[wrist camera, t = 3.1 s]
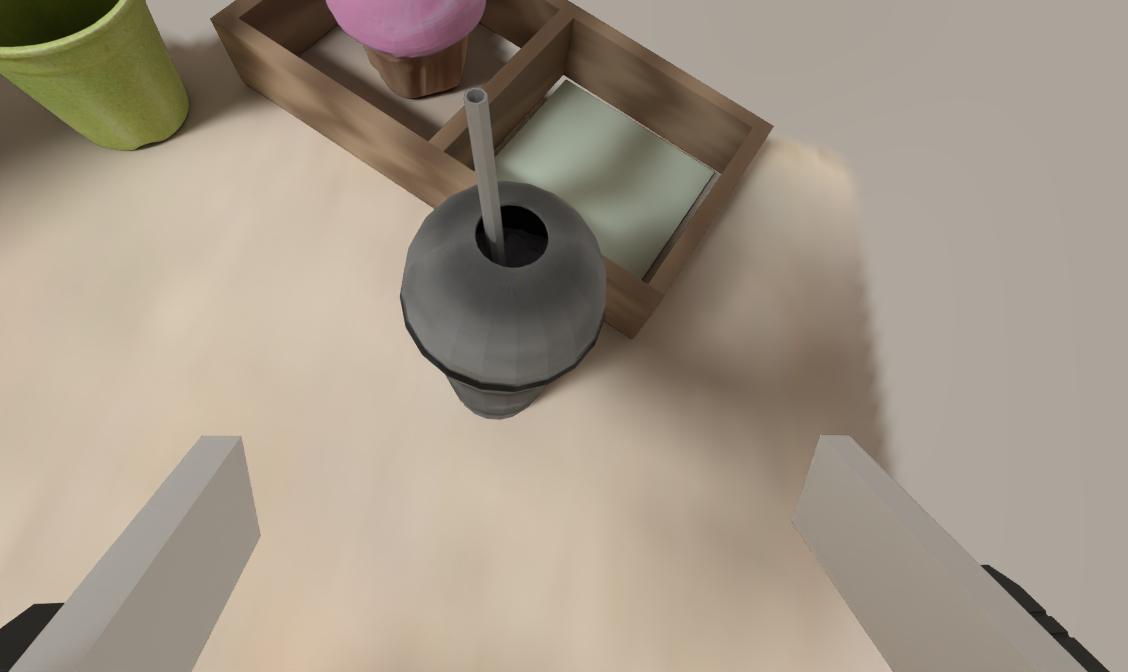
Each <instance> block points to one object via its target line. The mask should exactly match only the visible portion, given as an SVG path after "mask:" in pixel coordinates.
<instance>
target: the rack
mask: <svg viewBox="0 0 1128 672" xmlns="http://www.w3.org/2000/svg"><path fill="white" fill-rule="evenodd" d="M210 20H211V21H212V23H213V25H214V27H215V29H216V31H217V33H218V35H219V37H220V39H221V41H222V43H223V44H224V46H225V48H226V50H227V52H228V54H229V56H230V58H231V60H232V62H233V64H234V66H235V68H236V69H237V71H238V73H239V75H240V77H241V79H242V81H243V82H244V83H245V84H247V85H248V86H250V87H251V88H253V89H254V90H256V91H257V92H259V93H260V94H262V95H263V96H265V97H266V98H268V99H269V100H271V101H273V102H274V103H276V104H277V105H279V106H280V107H282V108H283V109H285V110H286V111H288V112H289V113H291V114H292V115H294V116H295V117H297V118H298V119H300V120H301V121H303V122H304V123H306V124H307V125H309V126H310V127H312V128H313V129H315V130H316V131H318V132H319V133H321V134H322V135H324V136H325V137H327V138H328V139H330V140H331V141H333V142H335V143H336V144H338V145H339V146H341V147H342V148H344V149H345V150H347V151H348V152H350V153H351V154H353V155H354V156H356V157H357V158H359V159H360V160H362V161H363V162H365V163H366V164H368V165H369V166H371V167H372V168H374V169H375V170H377V171H378V172H380V173H381V174H383V175H384V176H386V177H387V178H389V179H390V180H392V181H394V182H395V183H397V184H398V185H400V186H401V187H403V188H404V189H406V190H407V191H409V192H410V193H412V194H413V195H415V196H416V197H418V198H419V199H421V200H422V201H424V202H425V203H427V204H428V205H430V206H431V207H433V208H434V209H436V208H437V207H438V206H439V205H441V204H442V203H443V202H444V201H445V200H446V199H447V198H449V197H450V196H452V195H454V194H456V193H458V192H461V191H463V190H465V189H467V188H470V187H472V186H474V185H476V184H477V178H476V172H474V171H475V166H474V160H473V153H472V147H471V141H470V134H469V128H468V122H467V115H466V109H465V105H464V106H463V107H462V108H461V109H460V110H459V111H458V112H457V113H456V114H455V115H454V116H453V117H452V118H451V119H450V120H449V121H448V122H447V123H446V124H445V125H444V126H443V127H442V128H441V129H440V130H439V131H438V132H437V133H436V134H435V135H434V136H433V137H432V138H431V139H430V140H429V141H427V140H425V139H424V138H422V137H420V136H419V135H417V134H416V133H414V132H413V131H411V130H410V129H408V128H407V127H405V126H404V125H402V124H400V123H399V122H397V121H396V120H394V119H393V118H391V117H390V116H388V115H387V114H385V113H384V112H382V111H380V110H379V109H377V108H376V107H374V106H373V105H371V104H370V103H368V102H367V101H365V100H364V99H362V98H360V97H359V96H357V95H356V94H354V93H353V92H351V91H350V90H348V89H347V88H345V87H344V86H342V85H340V84H339V83H337V82H336V81H334V80H333V79H331V78H330V77H328V76H327V75H325V74H324V73H322V72H320V71H319V70H317V69H316V68H314V67H313V66H311V65H310V64H308V63H307V62H305V61H304V60H302V59H300V58H299V57H298V56H299V55H300V54H302V53H303V52H304V51H305V50H307V49H308V48H309V47H310V46H312V45H313V44H314V43H315V42H317V41H318V40H319V39H320V38H321V37H323V36H324V35H325V34H326V33H328V32H329V31H330V30H331V29H333V28H334V27H335V26H336V25H338V23H337V21H336V19H335V17H334V15H333V14H332V12H331V11H330V9H329V8H328V6H327V3H326V0H236V1H234V2H233V3H231V4H230V5H229V6H228V7H226V8H225V9H223V10H222V11H220V12H219V13H217V14H216V15H215V16H213V17H212V18H210ZM479 22H480V23H481V24H483V25H484V26H486V27H488V28H489V29H491V30H492V31H494V32H496V33H497V34H499V35H500V36H502V37H504V38H505V39H507V40H508V41H510V42H512V43H513V44H515V45H516V46H518V47H520V48H521V49H520V50H519V51H518V52H517V53H516V54H515V55H514V56H513V57H512V58H511V59H510V60H509V61H508V62H507V63H506V64H505V65H504V66H503V67H502V68H501V69H500V70H499V71H498V72H497V73H496V74H495V75H494V76H493V77H492V78H491V79H490V80H489V81H488V82H487V83H486V84H485V85H484V86H483V87H482V89H483V90H484V91H485V92H486V93H487V95H488V104H489V113H490V122H491V131H492V140H493V148H494V149H495V148H496V147H497V146H498V145H499V144H500V143H501V142H502V141H503V140H504V138H505V137H506V136H507V135H508V134H509V133H510V132H511V131H512V130H513V129H514V128H515V127H516V125H517V124H518V123H519V122H520V121H521V120H522V119H523V118H524V117H525V116H526V115H527V114H528V112H529V111H530V110H531V109H532V108H533V107H534V106H535V105H536V104H537V103H538V102H539V101H540V99H541V98H542V97H543V96H544V95H545V94H546V93H547V92H548V91H549V90H550V89H551V88H552V86H553V85H554V84H555V83H556V82H557V81H558V80H559V79H560V78H561V77H562V75H565V76H566V77H568V78H569V79H571V80H573V81H574V82H576V83H577V84H579V85H581V86H582V87H584V88H585V89H587V90H589V91H590V92H592V93H593V94H595V95H597V96H598V97H600V98H601V99H603V100H605V101H606V102H608V103H609V104H611V105H613V106H614V107H616V108H617V109H619V110H621V111H622V112H624V113H625V114H627V115H629V116H630V117H632V118H633V119H635V120H637V121H638V122H640V123H641V124H643V125H645V126H646V127H648V128H649V129H651V130H653V131H654V132H656V133H657V134H659V135H661V136H662V137H664V138H665V139H667V140H669V141H670V142H672V143H673V144H675V145H677V146H678V147H680V148H681V149H683V150H685V151H686V152H688V153H689V154H691V155H693V156H694V157H696V158H698V159H699V160H701V161H702V162H704V163H706V164H707V165H709V166H710V167H712V168H714V169H715V170H717V171H718V172H720V173H722V175H721V176H720V178H719V179H718V181H717V182H716V184H715V185H714V187H713V188H712V190H711V191H710V193H709V194H708V196H707V197H706V199H705V200H704V202H703V203H702V205H701V206H700V208H699V209H698V211H697V212H696V214H695V215H694V217H693V218H692V220H691V221H690V223H689V224H688V226H687V227H686V229H685V230H684V232H683V233H682V235H681V236H680V238H679V239H678V241H677V242H676V243H675V245H674V246H673V248H672V249H671V251H670V252H669V254H668V255H667V257H666V258H665V260H664V261H663V263H662V264H661V266H660V267H659V269H658V270H657V272H656V273H655V275H654V276H653V278H652V279H651V281H650V282H649V284H647V283H645V282H643V281H642V278H643V277H644V275H645V274H646V272H647V271H648V269H649V268H650V267H651V265H652V264H653V262H654V261H655V259H656V258H657V256H658V255H659V253H660V252H661V250H662V249H663V247H664V246H665V244H666V243H667V241H668V240H669V238H670V237H671V236H672V234H673V233H674V231H675V230H676V228H677V227H678V225H679V224H680V222H681V221H682V219H683V218H684V216H685V215H686V213H687V212H688V210H689V209H690V208H691V206H692V205H693V203H694V202H695V200H696V199H697V197H698V196H699V194H700V193H701V191H702V190H703V188H704V187H705V185H706V184H707V182H708V181H709V179H710V178H711V177H712V175H713V174H714V171H712V170H710V169H709V168H707V167H706V166H704V165H702V164H701V163H699V162H698V161H696V160H694V159H693V158H691V157H690V156H688V155H686V154H685V153H683V152H682V151H680V150H678V149H677V148H675V147H674V146H672V145H670V144H669V143H667V142H666V141H664V140H662V139H661V138H659V137H658V136H656V135H654V134H653V133H651V132H650V131H648V130H646V129H645V128H643V127H641V126H640V125H638V124H637V123H635V122H633V121H632V120H630V119H629V118H627V117H625V116H624V115H622V114H621V113H619V112H617V111H616V110H614V109H613V108H611V107H609V106H608V105H606V104H605V103H603V102H601V101H600V100H598V99H597V98H595V97H593V96H592V95H590V94H589V93H587V92H585V91H584V90H582V89H581V88H579V87H577V86H576V85H574V84H573V83H571V82H569V81H568V80H565V81H564V82H563V83H562V84H561V85H560V86H559V88H558V89H557V90H556V91H555V92H554V93H553V94H552V95H551V96H550V97H549V98H548V100H547V101H546V102H545V103H544V104H543V105H542V106H541V107H540V108H539V109H538V111H537V112H536V113H535V114H534V115H533V116H532V117H531V118H530V119H529V120H528V121H527V123H526V124H525V125H524V126H523V127H522V128H521V129H520V130H519V131H518V132H517V133H516V135H515V136H514V137H513V138H512V139H511V140H510V141H509V142H508V143H507V144H506V145H505V147H504V148H503V149H502V150H501V151H500V152H499V153H498V154H497V155H496V156H495V166H496V175H497V181H511V182H519V183H527V184H532V185H534V186H536V187H539V188H541V189H544V190H546V191H549V192H551V193H554V194H556V195H557V196H558V197H559V198H561V199H562V200H563V201H565V202H566V203H567V204H568V205H570V206H571V207H572V208H574V209H575V210H576V211H577V212H578V213H579V214H580V216H581V217H582V218H583V220H584V221H585V223H586V224H587V225H588V227H589V228H590V229H591V231H592V232H593V234H594V235H595V237H596V239H597V242H598V245H599V248H600V251H601V255H602V258H603V261H604V264H605V267H606V307H605V319H604V321H605V322H607V323H608V324H610V325H611V326H613V327H614V328H616V329H617V330H619V331H620V332H622V333H623V334H625V335H626V336H628V337H629V338H631V339H633V338H634V336H635V335H636V334H637V332H638V331H639V330H640V329H641V327H642V326H643V325H644V323H645V322H646V321H647V319H648V318H649V317H650V315H651V314H652V313H653V312H654V310H655V309H656V307H657V306H658V304H659V303H660V301H661V300H662V298H663V297H664V295H665V293H666V292H667V290H668V289H669V287H670V286H671V284H672V283H673V281H674V280H675V278H676V276H677V275H678V273H679V272H680V270H681V269H682V267H683V266H684V264H685V263H686V261H687V259H688V258H689V256H690V255H691V253H692V252H693V250H694V249H695V247H696V246H697V244H698V242H699V241H700V239H701V238H702V236H703V235H704V233H705V232H706V230H707V229H708V227H709V226H710V224H711V222H712V221H713V219H714V218H715V216H716V215H717V213H718V212H719V210H720V209H721V207H722V205H723V204H724V202H725V201H726V199H727V198H728V196H729V195H730V193H731V192H732V190H733V188H734V187H735V185H736V184H737V182H738V181H739V179H740V178H741V176H742V175H743V173H744V172H745V170H746V168H747V167H748V165H749V164H750V162H751V161H752V159H753V158H754V156H755V155H756V153H757V151H758V150H759V148H760V147H761V145H762V144H763V142H764V141H765V139H766V138H767V136H768V134H769V133H770V131H771V130H772V128H773V127H774V126H773V125H771V124H769V123H768V122H766V121H764V120H763V119H761V118H759V117H758V116H756V115H755V114H753V113H751V112H750V111H748V110H746V109H745V108H743V107H741V106H740V105H738V104H737V103H735V102H733V101H732V100H730V99H728V98H727V97H725V96H724V95H722V94H720V93H719V92H717V91H715V90H714V89H712V88H710V87H709V86H707V85H705V84H704V83H702V82H701V81H699V80H697V79H696V78H694V77H692V76H691V75H689V74H687V73H686V72H684V71H682V70H681V69H679V68H678V67H676V66H674V65H673V64H671V63H670V62H668V61H666V60H665V59H663V58H661V57H659V56H658V55H656V54H655V53H653V52H651V51H650V50H648V49H647V48H645V47H643V46H642V45H640V44H638V43H637V42H635V41H634V40H632V39H630V38H629V37H627V36H625V35H624V34H622V33H620V32H619V31H617V30H616V29H614V28H612V27H611V26H609V25H607V24H606V23H604V22H602V21H600V20H599V19H597V18H596V17H594V16H593V15H591V14H589V13H587V12H586V11H584V10H582V9H581V8H580V7H578V6H576V5H574V4H573V3H571V2H570V1H568V0H486V6H485V9H484V13H483V15H482V17H481V19H480V21H479Z"/></svg>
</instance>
